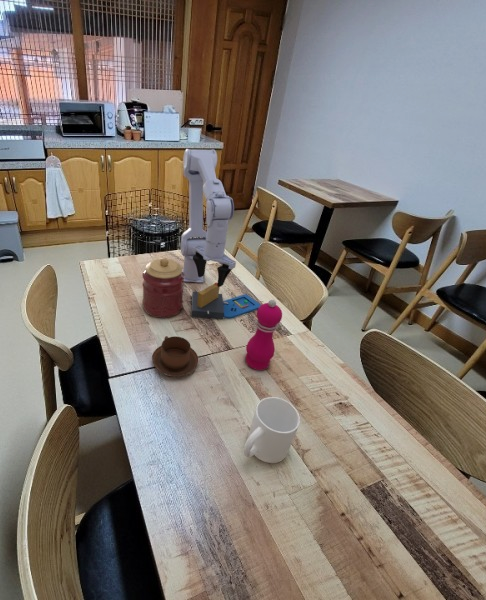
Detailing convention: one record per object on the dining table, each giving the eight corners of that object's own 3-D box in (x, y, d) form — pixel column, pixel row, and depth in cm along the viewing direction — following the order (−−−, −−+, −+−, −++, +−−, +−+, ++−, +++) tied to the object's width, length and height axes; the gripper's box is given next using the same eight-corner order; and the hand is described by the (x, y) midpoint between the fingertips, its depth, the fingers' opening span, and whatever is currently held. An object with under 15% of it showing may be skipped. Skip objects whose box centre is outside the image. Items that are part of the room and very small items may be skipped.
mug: (255, 483, 64) (266, 451, 58) (225, 449, 69) (232, 417, 63) (295, 450, 70) (309, 419, 64) (265, 422, 75) (275, 390, 69)
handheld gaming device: (211, 304, 111) (246, 293, 118) (210, 306, 112) (245, 295, 118) (226, 317, 105) (262, 305, 112) (226, 320, 106) (261, 308, 113)
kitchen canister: (187, 316, 106) (191, 266, 96) (146, 320, 103) (146, 270, 93) (176, 294, 117) (180, 247, 107) (139, 297, 114) (139, 249, 104)
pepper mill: (275, 362, 91) (294, 300, 80) (261, 376, 87) (279, 313, 76) (252, 348, 95) (267, 288, 84) (238, 361, 91) (251, 299, 80)
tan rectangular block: (200, 308, 106) (202, 294, 103) (196, 306, 107) (198, 292, 104) (218, 297, 112) (220, 283, 109) (214, 295, 112) (216, 281, 110)
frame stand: (186, 318, 105) (186, 311, 104) (187, 295, 116) (187, 289, 115) (228, 321, 105) (229, 315, 104) (225, 298, 116) (226, 291, 115)
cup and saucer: (142, 363, 88) (142, 345, 85) (173, 342, 96) (175, 324, 92) (176, 388, 82) (177, 370, 78) (206, 363, 89) (209, 346, 86)
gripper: (187, 235, 99) (184, 276, 106) (228, 252, 91) (221, 295, 98) (202, 229, 103) (198, 269, 111) (242, 245, 95) (235, 286, 103)
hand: (210, 280), depth 105 cm, fingers open, 7 cm apart
